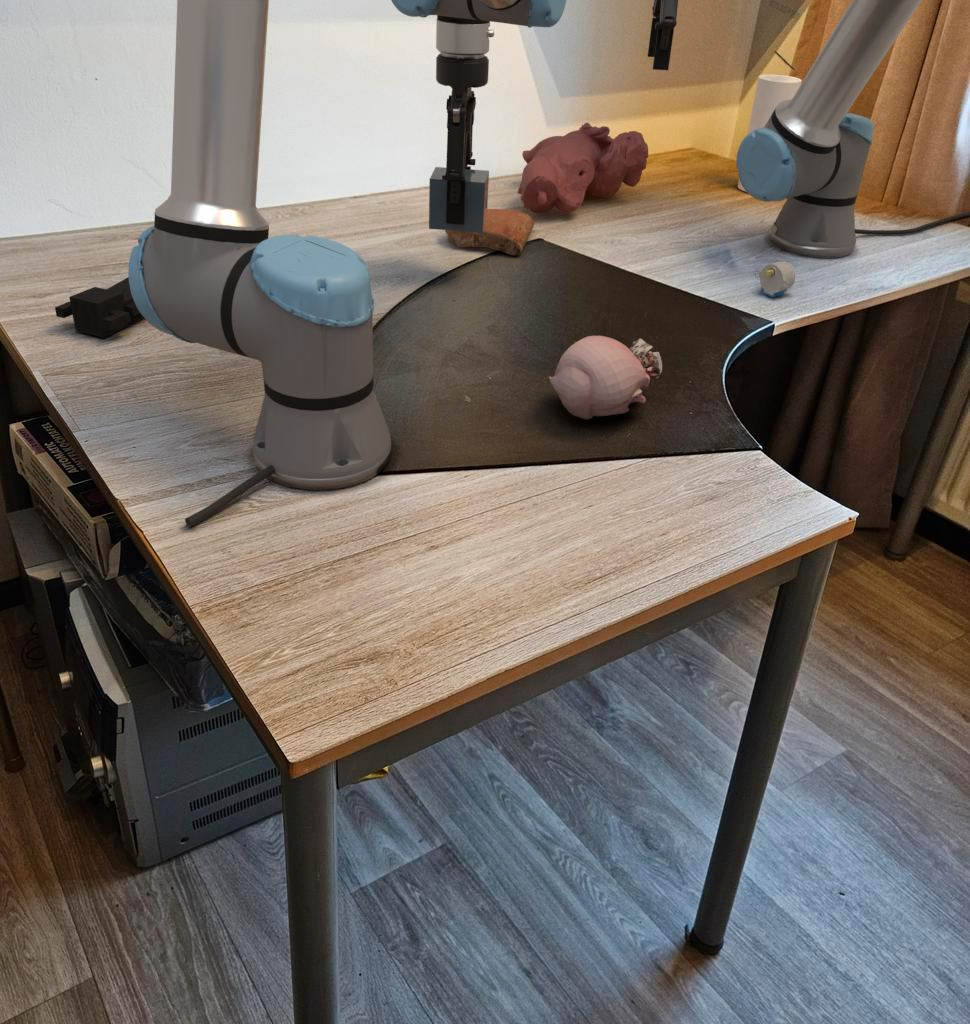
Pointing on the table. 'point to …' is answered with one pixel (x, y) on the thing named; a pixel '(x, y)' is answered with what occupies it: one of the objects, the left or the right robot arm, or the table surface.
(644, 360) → the toy
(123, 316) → the toy
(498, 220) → the ceramic shard
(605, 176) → the reddish clay animal figure
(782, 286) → the electric motor
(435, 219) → the grey cube
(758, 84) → the tall white tube
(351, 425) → the left robot arm
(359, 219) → the table surface
